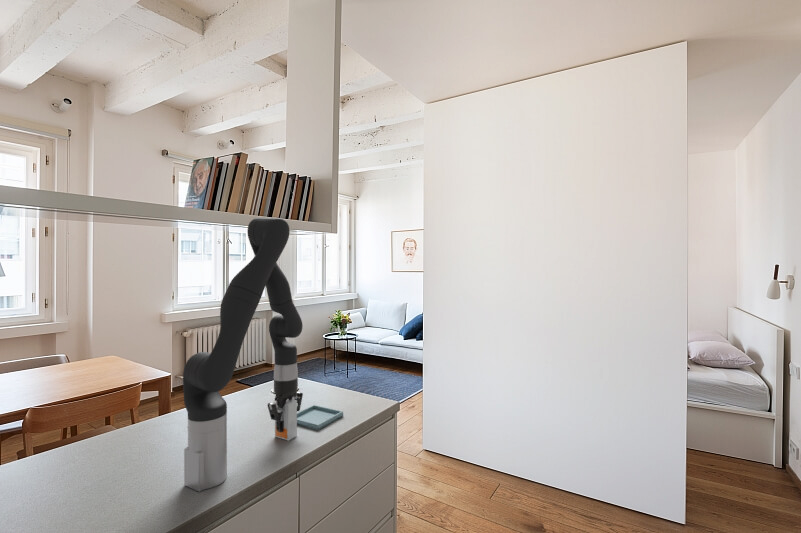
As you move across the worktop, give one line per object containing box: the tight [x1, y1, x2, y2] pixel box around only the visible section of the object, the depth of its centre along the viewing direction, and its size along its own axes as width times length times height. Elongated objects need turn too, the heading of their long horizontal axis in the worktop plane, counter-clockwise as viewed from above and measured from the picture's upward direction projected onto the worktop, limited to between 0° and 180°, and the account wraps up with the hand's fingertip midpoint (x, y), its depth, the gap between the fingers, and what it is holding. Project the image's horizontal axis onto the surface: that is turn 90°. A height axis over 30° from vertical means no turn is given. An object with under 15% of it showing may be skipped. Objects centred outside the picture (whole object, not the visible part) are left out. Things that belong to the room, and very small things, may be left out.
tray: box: [297, 404, 344, 431], centre depth 145 cm, size 14×14×2 cm
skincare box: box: [274, 400, 298, 442], centre depth 130 cm, size 6×4×12 cm
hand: (285, 428), depth 130 cm, fingers closed on skincare box, 4 cm apart
